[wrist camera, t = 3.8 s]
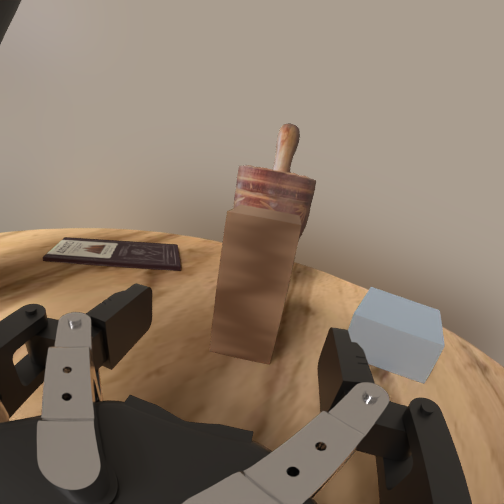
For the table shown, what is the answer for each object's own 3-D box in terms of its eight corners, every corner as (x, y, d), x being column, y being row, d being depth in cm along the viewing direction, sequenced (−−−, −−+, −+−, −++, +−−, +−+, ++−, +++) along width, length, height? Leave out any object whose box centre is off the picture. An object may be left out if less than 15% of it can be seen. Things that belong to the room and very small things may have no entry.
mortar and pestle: (219, 258, 39) (241, 116, 34) (278, 264, 41) (302, 129, 36) (224, 294, 29) (255, 95, 23) (303, 300, 30) (339, 116, 25)
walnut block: (209, 350, 19) (227, 211, 16) (223, 322, 23) (240, 204, 21) (269, 364, 19) (301, 225, 16) (274, 333, 23) (299, 215, 20)
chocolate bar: (180, 266, 33) (42, 257, 27) (180, 273, 33) (43, 264, 27) (177, 244, 41) (65, 237, 35) (176, 250, 41) (65, 243, 35)
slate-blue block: (338, 355, 21) (353, 313, 20) (359, 320, 28) (371, 286, 27) (422, 386, 17) (444, 345, 16) (424, 344, 24) (439, 310, 23)
